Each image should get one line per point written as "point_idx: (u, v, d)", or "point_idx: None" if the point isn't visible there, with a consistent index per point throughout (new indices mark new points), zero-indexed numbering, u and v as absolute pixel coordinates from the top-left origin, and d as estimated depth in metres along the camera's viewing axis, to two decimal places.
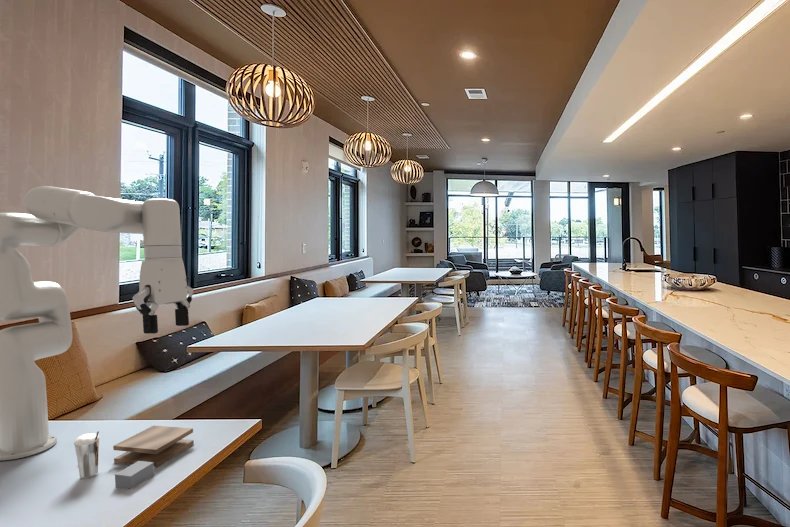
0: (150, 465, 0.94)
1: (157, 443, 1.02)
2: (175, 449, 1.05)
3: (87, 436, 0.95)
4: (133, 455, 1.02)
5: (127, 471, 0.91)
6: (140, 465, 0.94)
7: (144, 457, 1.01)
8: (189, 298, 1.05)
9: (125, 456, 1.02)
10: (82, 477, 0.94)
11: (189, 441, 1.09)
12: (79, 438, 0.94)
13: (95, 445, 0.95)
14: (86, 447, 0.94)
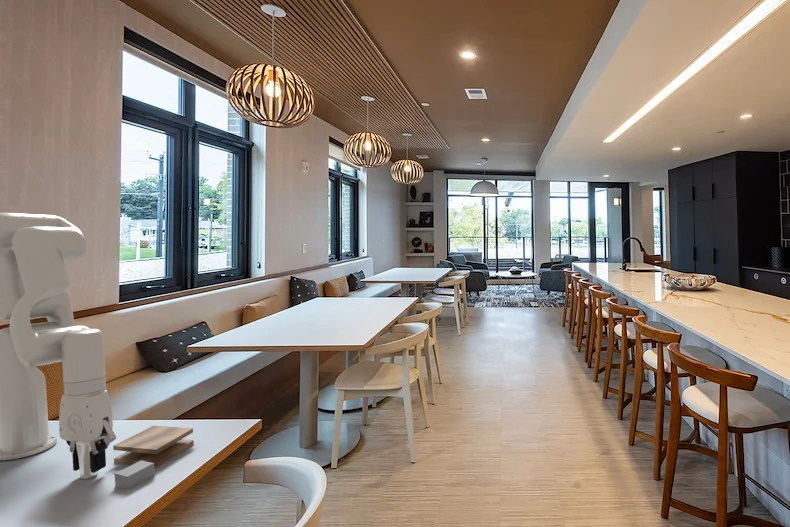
0: (150, 466, 0.94)
1: (157, 443, 1.02)
2: (175, 449, 1.05)
3: None
4: (133, 455, 1.02)
5: (126, 471, 0.91)
6: (141, 465, 0.94)
7: (144, 457, 1.01)
8: None
9: (125, 456, 1.02)
10: (82, 477, 0.94)
11: (189, 441, 1.09)
12: None
13: None
14: (88, 447, 0.93)
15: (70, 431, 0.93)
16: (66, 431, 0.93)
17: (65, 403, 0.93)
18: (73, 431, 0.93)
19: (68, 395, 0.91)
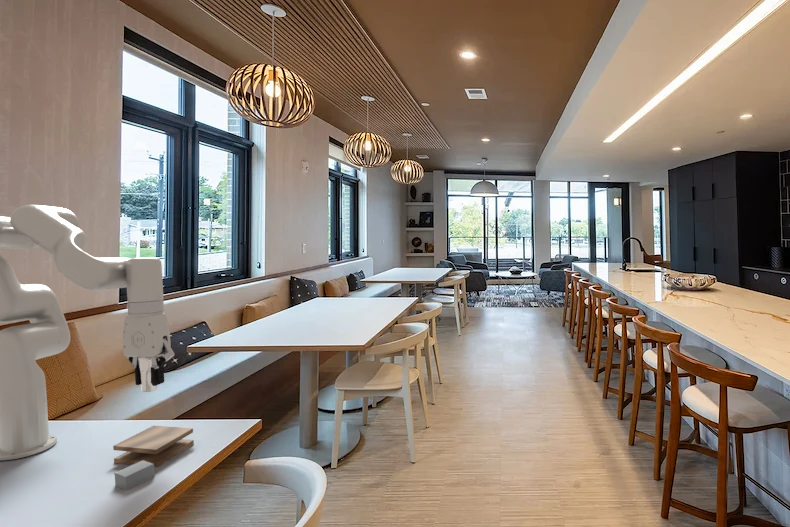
0: (150, 466, 0.93)
1: (157, 443, 1.02)
2: (175, 449, 1.05)
3: None
4: (133, 455, 1.02)
5: (126, 470, 0.91)
6: (141, 465, 0.94)
7: (144, 457, 1.01)
8: None
9: (125, 456, 1.02)
10: (144, 390, 1.03)
11: (189, 441, 1.09)
12: None
13: None
14: (149, 363, 1.03)
15: (134, 347, 1.02)
16: (130, 348, 1.03)
17: (129, 322, 1.03)
18: (136, 348, 1.02)
19: (132, 314, 1.01)
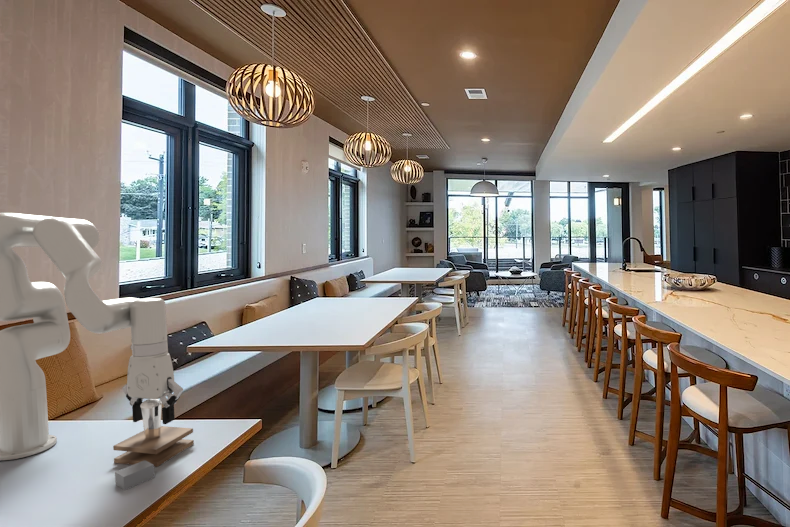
0: (149, 467, 0.93)
1: (157, 443, 1.02)
2: (175, 449, 1.05)
3: (151, 401, 1.05)
4: (133, 455, 1.02)
5: (126, 470, 0.92)
6: (142, 465, 0.93)
7: (144, 457, 1.01)
8: None
9: (125, 456, 1.02)
10: (148, 438, 1.04)
11: (189, 441, 1.09)
12: (145, 402, 1.04)
13: (158, 409, 1.05)
14: (151, 410, 1.03)
15: (138, 389, 1.03)
16: (134, 389, 1.03)
17: (133, 364, 1.03)
18: (140, 389, 1.03)
19: (137, 356, 1.01)
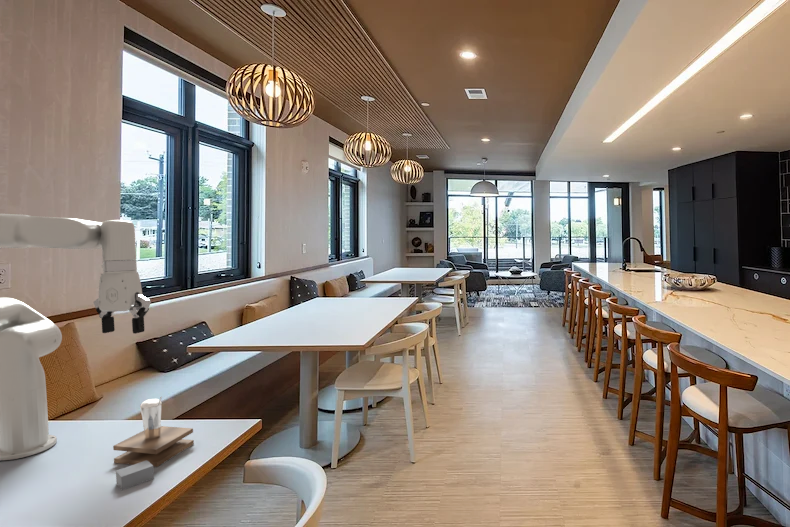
0: (148, 468, 0.93)
1: (157, 443, 1.02)
2: (175, 449, 1.05)
3: (151, 401, 1.05)
4: (133, 455, 1.02)
5: (126, 470, 0.92)
6: (142, 466, 0.93)
7: (144, 457, 1.01)
8: None
9: (125, 456, 1.02)
10: (148, 438, 1.04)
11: (189, 441, 1.09)
12: (145, 402, 1.04)
13: (158, 409, 1.05)
14: (151, 410, 1.03)
15: (108, 302, 1.12)
16: (104, 303, 1.12)
17: (104, 279, 1.12)
18: (110, 303, 1.11)
19: (107, 271, 1.10)
